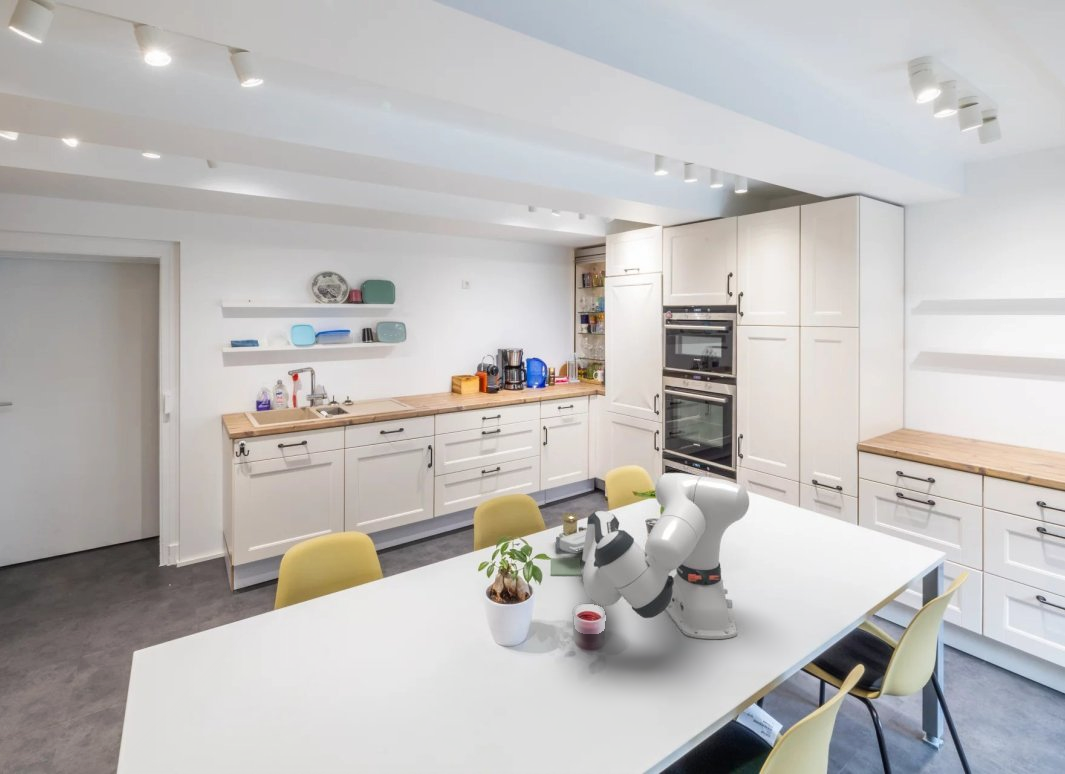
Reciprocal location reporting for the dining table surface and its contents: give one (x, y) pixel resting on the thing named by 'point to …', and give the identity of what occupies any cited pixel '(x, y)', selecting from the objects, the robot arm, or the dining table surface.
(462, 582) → the dining table surface
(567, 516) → the olive metal cylinder
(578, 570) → the mat
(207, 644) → the dining table surface
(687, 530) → the robot arm
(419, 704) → the dining table surface
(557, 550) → the housing
